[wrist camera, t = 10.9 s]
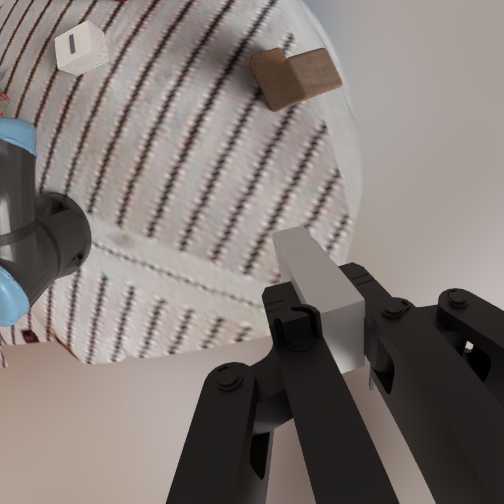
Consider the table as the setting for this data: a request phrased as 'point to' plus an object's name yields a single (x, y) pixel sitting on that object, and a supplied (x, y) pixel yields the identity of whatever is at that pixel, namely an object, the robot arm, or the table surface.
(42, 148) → the table surface
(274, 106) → the wooden block
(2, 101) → the stack of blocks
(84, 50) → the marked block 1
